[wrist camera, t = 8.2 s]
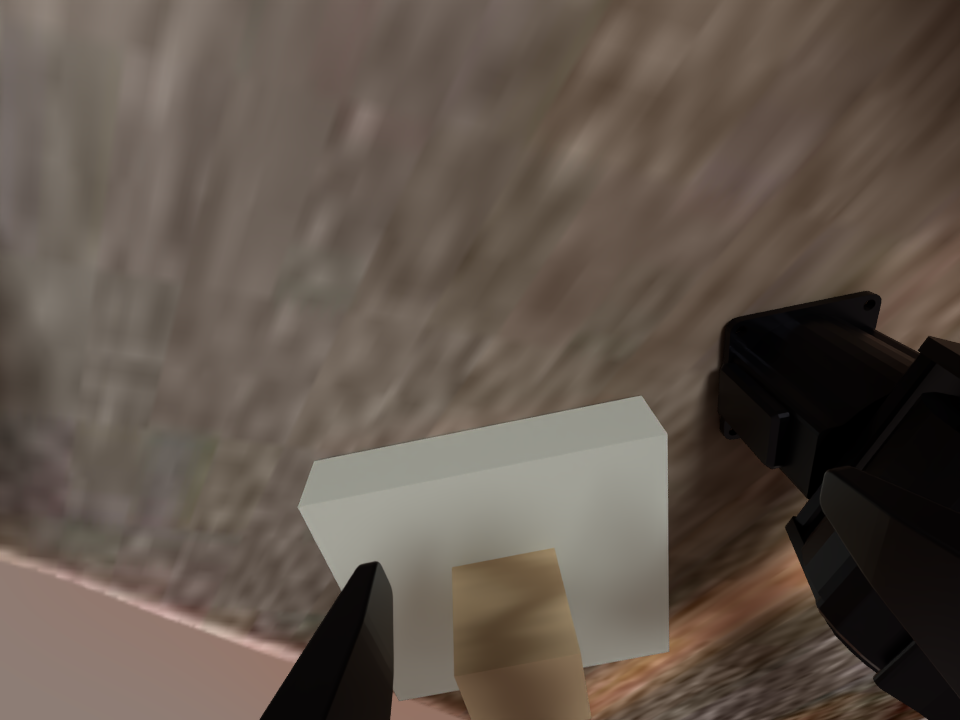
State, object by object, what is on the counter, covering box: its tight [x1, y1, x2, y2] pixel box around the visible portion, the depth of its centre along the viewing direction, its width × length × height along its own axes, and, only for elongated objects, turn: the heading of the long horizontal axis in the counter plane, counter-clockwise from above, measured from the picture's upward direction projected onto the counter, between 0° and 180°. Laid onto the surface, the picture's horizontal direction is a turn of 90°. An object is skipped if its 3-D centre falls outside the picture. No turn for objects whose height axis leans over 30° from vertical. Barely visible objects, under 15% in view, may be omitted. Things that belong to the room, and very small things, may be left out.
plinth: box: [298, 396, 669, 701], centre depth 26 cm, size 16×16×3 cm
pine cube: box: [452, 548, 591, 720], centre depth 22 cm, size 5×5×5 cm
